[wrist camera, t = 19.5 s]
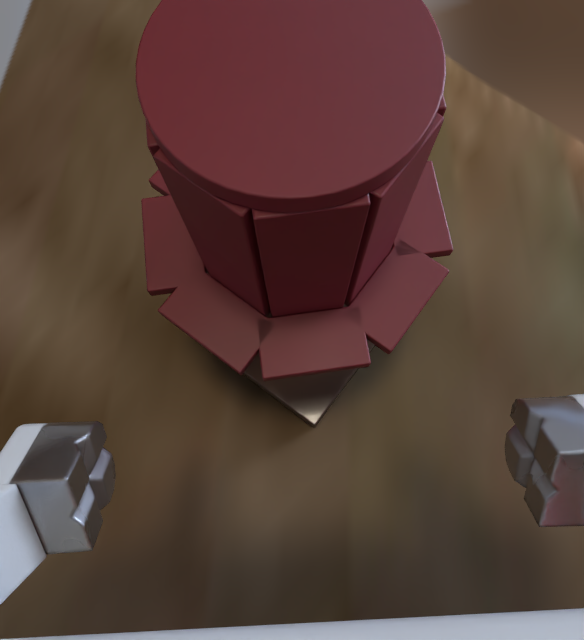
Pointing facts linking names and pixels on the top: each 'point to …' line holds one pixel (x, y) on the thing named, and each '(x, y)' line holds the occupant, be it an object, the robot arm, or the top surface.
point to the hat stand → (304, 389)
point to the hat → (293, 176)
